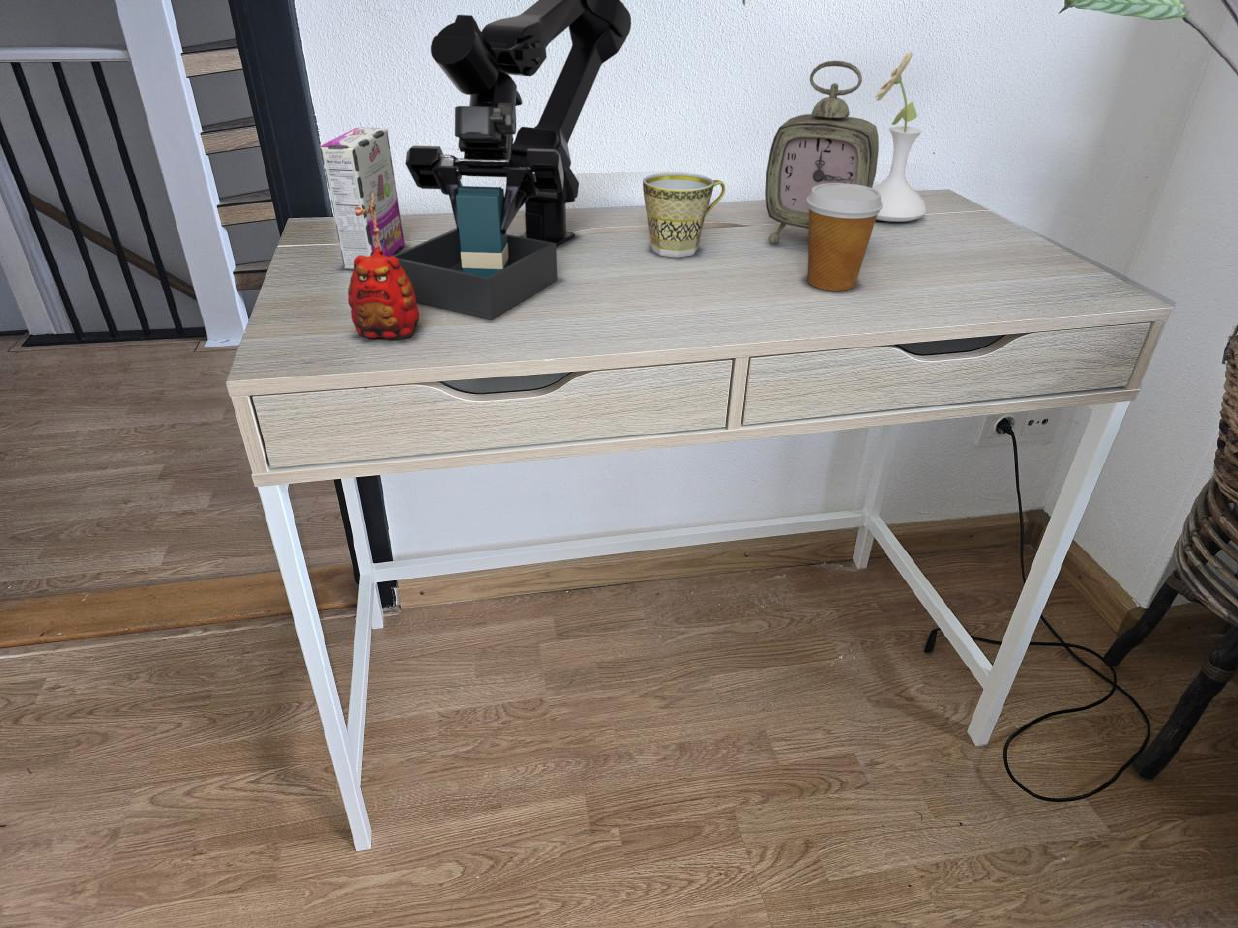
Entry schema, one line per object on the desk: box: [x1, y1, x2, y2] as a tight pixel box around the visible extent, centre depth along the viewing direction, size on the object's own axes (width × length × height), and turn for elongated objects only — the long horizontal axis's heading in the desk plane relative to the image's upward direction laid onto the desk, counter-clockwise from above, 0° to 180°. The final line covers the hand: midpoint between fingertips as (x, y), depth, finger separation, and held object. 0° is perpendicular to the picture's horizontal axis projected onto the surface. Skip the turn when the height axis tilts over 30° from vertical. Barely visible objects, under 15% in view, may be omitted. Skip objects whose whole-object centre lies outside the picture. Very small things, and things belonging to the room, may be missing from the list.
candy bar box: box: [319, 126, 406, 271], centre depth 111 cm, size 11×5×16 cm, turn 171°
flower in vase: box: [872, 51, 928, 223], centre depth 128 cm, size 13×11×25 cm
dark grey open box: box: [391, 227, 558, 321], centre depth 104 cm, size 15×15×5 cm
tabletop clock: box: [764, 60, 880, 245], centre depth 116 cm, size 14×9×25 cm, turn 68°
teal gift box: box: [456, 185, 509, 277], centre depth 101 cm, size 4×5×12 cm
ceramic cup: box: [642, 171, 726, 259], centre depth 117 cm, size 13×10×10 cm
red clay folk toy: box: [347, 193, 420, 341], centre depth 90 cm, size 8×7×15 cm
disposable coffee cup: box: [806, 183, 883, 292], centre depth 106 cm, size 10×10×12 cm
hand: (480, 232), depth 99 cm, fingers closed on teal gift box, 5 cm apart
